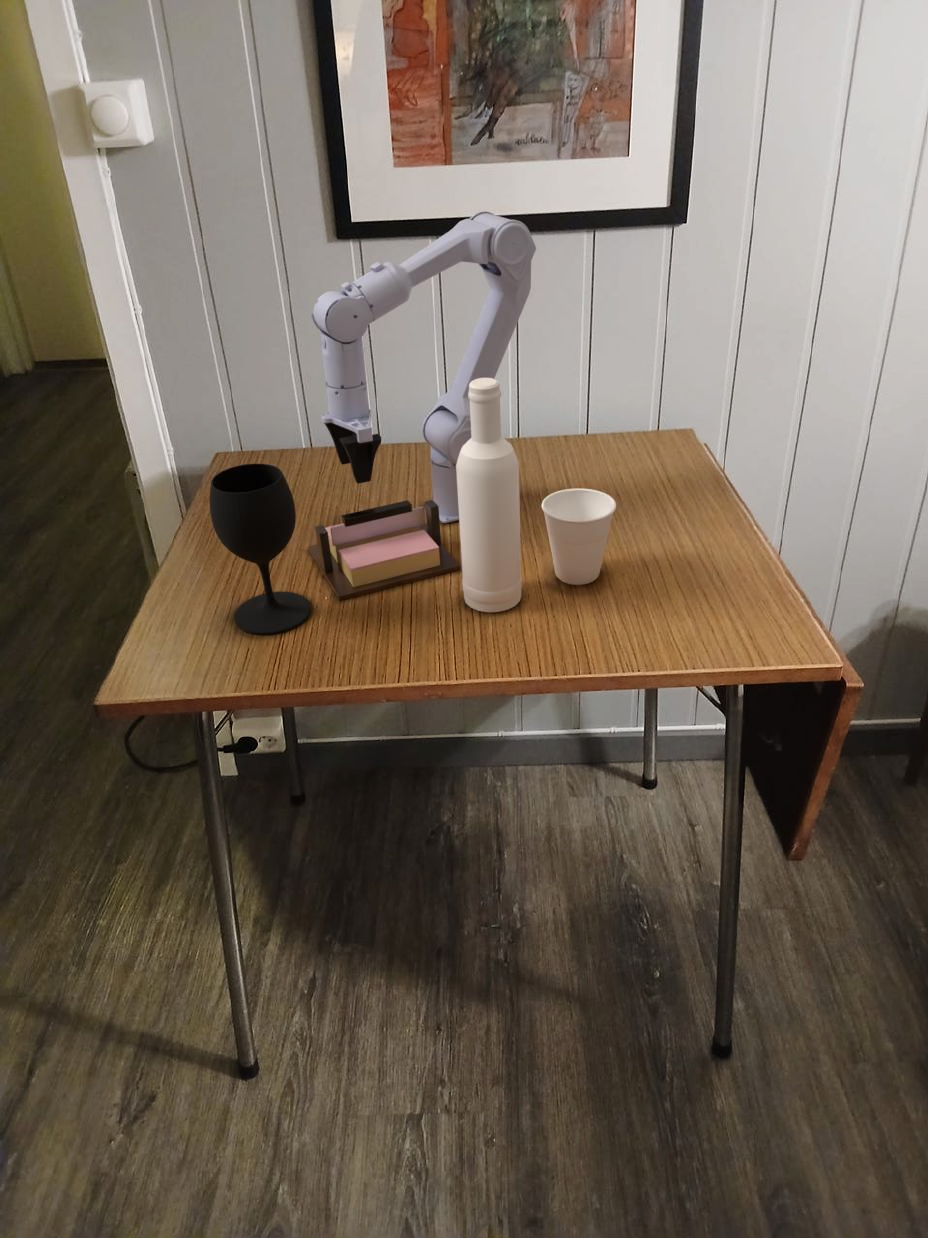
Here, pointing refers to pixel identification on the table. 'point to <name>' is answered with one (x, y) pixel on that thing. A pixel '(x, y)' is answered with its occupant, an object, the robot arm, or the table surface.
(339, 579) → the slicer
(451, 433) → the robot arm
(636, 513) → the table surface
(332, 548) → the pink sponge pad
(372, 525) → the knife
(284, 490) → the wine glass
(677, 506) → the table surface
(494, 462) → the bottle
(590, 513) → the cup
